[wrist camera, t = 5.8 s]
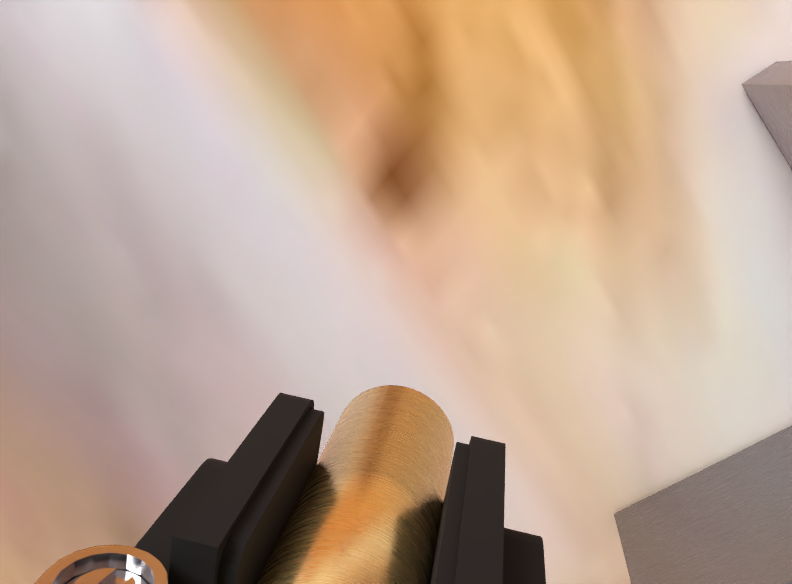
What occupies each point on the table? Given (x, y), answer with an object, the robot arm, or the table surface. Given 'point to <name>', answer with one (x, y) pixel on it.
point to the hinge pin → (371, 496)
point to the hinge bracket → (724, 469)
